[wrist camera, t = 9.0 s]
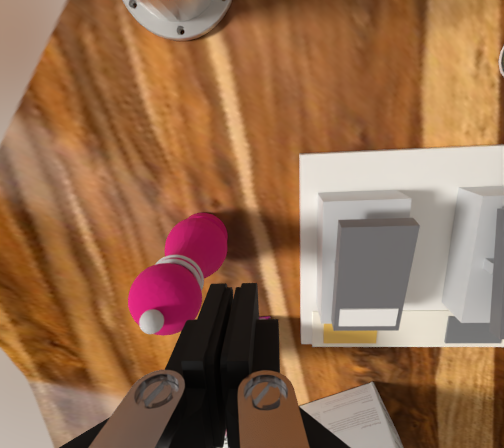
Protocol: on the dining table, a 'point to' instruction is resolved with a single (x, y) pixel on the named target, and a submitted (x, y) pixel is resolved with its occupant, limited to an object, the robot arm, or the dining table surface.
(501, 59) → the supplement bottle
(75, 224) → the dining table surface
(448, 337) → the switch unit
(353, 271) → the marked switch
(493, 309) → the plain switch
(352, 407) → the supplement box
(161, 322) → the pepper mill
